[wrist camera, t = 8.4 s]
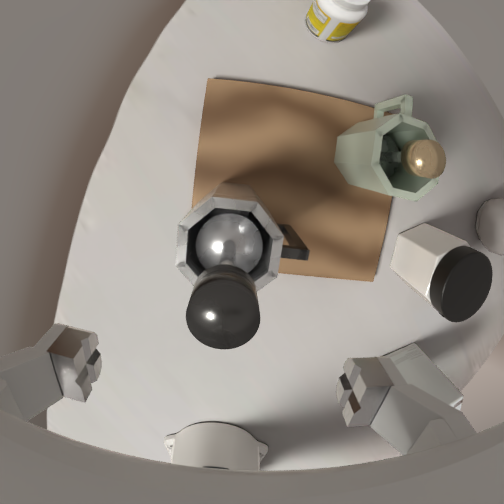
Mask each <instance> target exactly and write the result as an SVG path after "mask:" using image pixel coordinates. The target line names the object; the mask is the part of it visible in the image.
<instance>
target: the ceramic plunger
mask: <svg viewBox="0 0 504 504" xmlns="http://www.w3.org/2000/svg"><path fill="white" fill-rule="evenodd" d="M399 163H402V165H403V168H404V169H405V170H406V172H408V173H409V174H410V175H413V176H419V177H425V178H430V179H434V178H437V177H439V176H440V175H441V174H442V173H443V171H444V169H445V164H446V157H445V153H444V150H443V148H442V147H441V145H440V144H439V143H438V142H436V141H434V140H411V141H408V142H407V143H406V144H405V145H404V146H403V148H402V151H401V152H399V151H398V148H397V146H396V144H395V142H394V141H393V140H392V139H391V138H390V137H388V136H386V135H383V138H382V146H381V153H380V161H379V164H380V166H381V168H382V169H383V171H384V173H385V175H386V176H387V178H388V177H390V176H392V175H393V174H394V173H395V171H396V170H397V168H398V165H399Z"/></svg>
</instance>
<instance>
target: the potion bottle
mask: <svg viewBox="0 0 504 504" xmlns="http://www.w3.org/2000/svg"><path fill="white" fill-rule="evenodd" d="M475 229H476V231H477V234H478V237H479V240H482V243H483V245H484V246H485V247H486V248H487V249H488V250H489V251H490V252H493V253H496V254H499V255H504V198H497V199H490V200H489V201H485V202H484V203H483V205H482V206H481V208H480V209H479V211H478V212H477V219H476V226H475Z"/></svg>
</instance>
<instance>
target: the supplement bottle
mask: <svg viewBox="0 0 504 504" xmlns="http://www.w3.org/2000/svg"><path fill="white" fill-rule="evenodd" d="M369 2H370V0H314V1H313V3H312V5H311V7H310V9H309V11H308V13H307V16H306V19H305V24H306V27H307V29H308V31H309V32H310V34H311V35H312V36H314V37H315V38H317V39H318V40H320V41H323V42H327V43H336V42H339V41H341V40H343V39H344V38H345V37H346V36H347V35H348V34H349V33H350V32H351V31H352V30H353V29H354V28H355V27H356V25H357V24H358V23H359V22H360V21H361V20H362V19H363V18H364V17H365V16H366V14H367V10H368V5H367V4H368V3H369Z"/></svg>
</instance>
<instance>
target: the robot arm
mask: <svg viewBox="0 0 504 504" xmlns="http://www.w3.org/2000/svg"><path fill="white" fill-rule="evenodd" d="M98 344H99V342H98V337H97V334H96V333H95V332H92V331H87V330H83V329H79V328H75V327H72V326H67V325H63V324H59V323H57V324H54V325H53V326H52V328H50V330H49V331H48V332H47V333H46V334H45V335H44V336H43V337H42V338H41V339H40V341H39V342H38V343H37V344H36V345H35V346H34V347H33V348H32V347H28V348H24V349H22V350H19V351H16V352H13V353H10V354H8V355H5V356H2V357H0V504H504V422H502V423H500V424H498V425H496V426H493V427H491V428H489V429H486V430H483V431H481V432H479V433H476V431H475V430H474V428H473V427H472V425H471V424H470V422H469V421H468V420H467V418H466V417H465V415H464V414H463V413H462V412H461V411H459V410H458V409H456V408H454V407H452V406H450V405H448V404H447V403H445V402H443V401H441V400H439V399H437V398H436V397H434V396H432V395H430V394H428V393H427V392H425V391H423V390H421V389H419V388H418V387H416V386H414V385H412V384H407V382H406V381H405V379H404V378H403V376H402V375H401V373H400V372H399V370H398V369H397V367H396V366H395V364H394V363H393V361H392V360H391V358H389V357H388V356H382V357H372V358H348V359H347V360H346V361H345V363H344V366H343V369H344V371H345V373H344V374H343V375H342V376H341V377H339V380H338V383H337V386H336V397H337V401H338V403H339V404H340V405H341V406H342V407H344V410H343V412H342V414H343V417H344V420H345V422H346V425H347V427H355V426H368V425H370V427H371V428H372V429H373V430H375V431H376V432H377V433H378V434H379V435H380V436H381V437H383V438H384V439H385V440H386V441H387V442H388V443H389V444H391V445H392V446H393V447H394V448H395V449H396V450H398V451H399V452H400V453H401V454H402V455H403V456H399V457H394V458H389V459H384V460H379V461H374V462H368V463H362V464H355V465H348V466H340V467H330V468H320V469H306V470H284V471H260V462H261V461H262V459H263V458H264V456H265V455H266V454H267V452H268V446H267V445H265V444H263V443H261V442H258V441H257V440H255V439H254V438H253V436H252V435H251V434H249V433H248V432H247V431H245V430H243V429H241V428H239V427H236V426H233V425H229V424H223V423H199V424H194V425H191V426H188V427H186V428H184V429H183V430H181V431H180V432H179V433H177V434H174V435H169V436H166V437H165V438H164V444H165V446H166V448H167V450H168V452H169V454H170V457H171V463H166V462H160V461H155V460H149V459H144V458H140V457H135V456H130V455H126V454H122V453H118V452H114V451H110V450H106V449H103V448H99V447H96V446H92V445H89V444H86V443H83V442H80V441H76V440H73V439H71V438H68V437H65V436H62V435H59V434H57V433H54V432H51V431H49V430H46V429H44V428H41V427H39V426H36V425H34V424H32V423H29V422H27V421H28V420H29V419H31V418H33V417H34V416H36V415H37V414H39V413H40V412H42V411H43V410H45V409H47V408H48V407H50V406H51V405H53V404H54V403H56V402H57V401H59V400H60V399H62V398H63V397H67V398H70V399H74V400H77V401H81V402H86V400H87V398H88V396H89V395H90V393H91V391H92V386H91V383H93V382H95V381H97V379H98V377H99V375H100V372H101V367H102V360H101V354H100V353H99V352H98V350H97V349H96V347H97V345H98Z"/></svg>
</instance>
